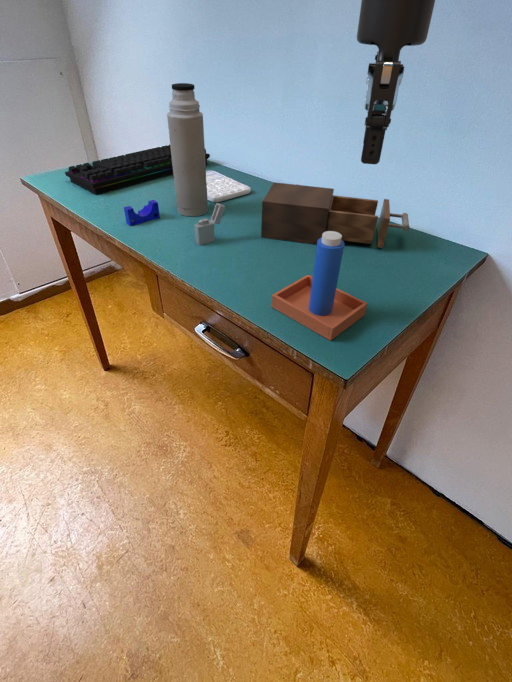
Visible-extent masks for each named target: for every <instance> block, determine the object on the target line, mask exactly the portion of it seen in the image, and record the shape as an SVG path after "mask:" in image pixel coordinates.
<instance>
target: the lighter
mask: <svg viewBox="0 0 512 682" xmlns="http://www.w3.org/2000/svg"><path fill="white" fill-rule="evenodd" d="M225 209H226V205H224V204H222V203H220V202H216V203H215V206H214V209H213V212H212V215H211V217H210V219H208V217H205V218H202V219H199V221H198V223H195V224H194V234H195V235H194V236H195V239H194V240H195V244H196V245H197V246H204V245H206V244H210V243H214V242H216V241H215V240H216V239H215V237H216V236H215V225H220V223H221V220H222V218H223V215H224V212H225Z"/></svg>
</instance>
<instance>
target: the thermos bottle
mask: <svg viewBox="0 0 512 682" xmlns="http://www.w3.org/2000/svg"><path fill="white" fill-rule="evenodd" d="M171 89H172V90H171V91H172V92H171V96H172V98H171V100H170V101H169V103H168V105H169V106H168V109H169V112H167V114H166V116H167V117H166V118H167V126H168V127H167V128H168V135H169V136H168V137H169V145H170V147H171V156H172V165H173V174H172V175H173V183H174V192H175V201H176V211H177V213H178V214H179V215H181V216H183V217H200V216H204V215H205V214H207V213H208V212H209V200H208V199H207V183H206V171H207V165H206V163H205V149H206V147H205V146H206V145H205V128H204V114H203V112H201V111H200V107H201V105H200V101H198V100H197V99H196V97H195V96H196V95H195V91H194V90H195V84H193V83H186V82H179V83H178V82H177V83H172V84H171Z"/></svg>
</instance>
